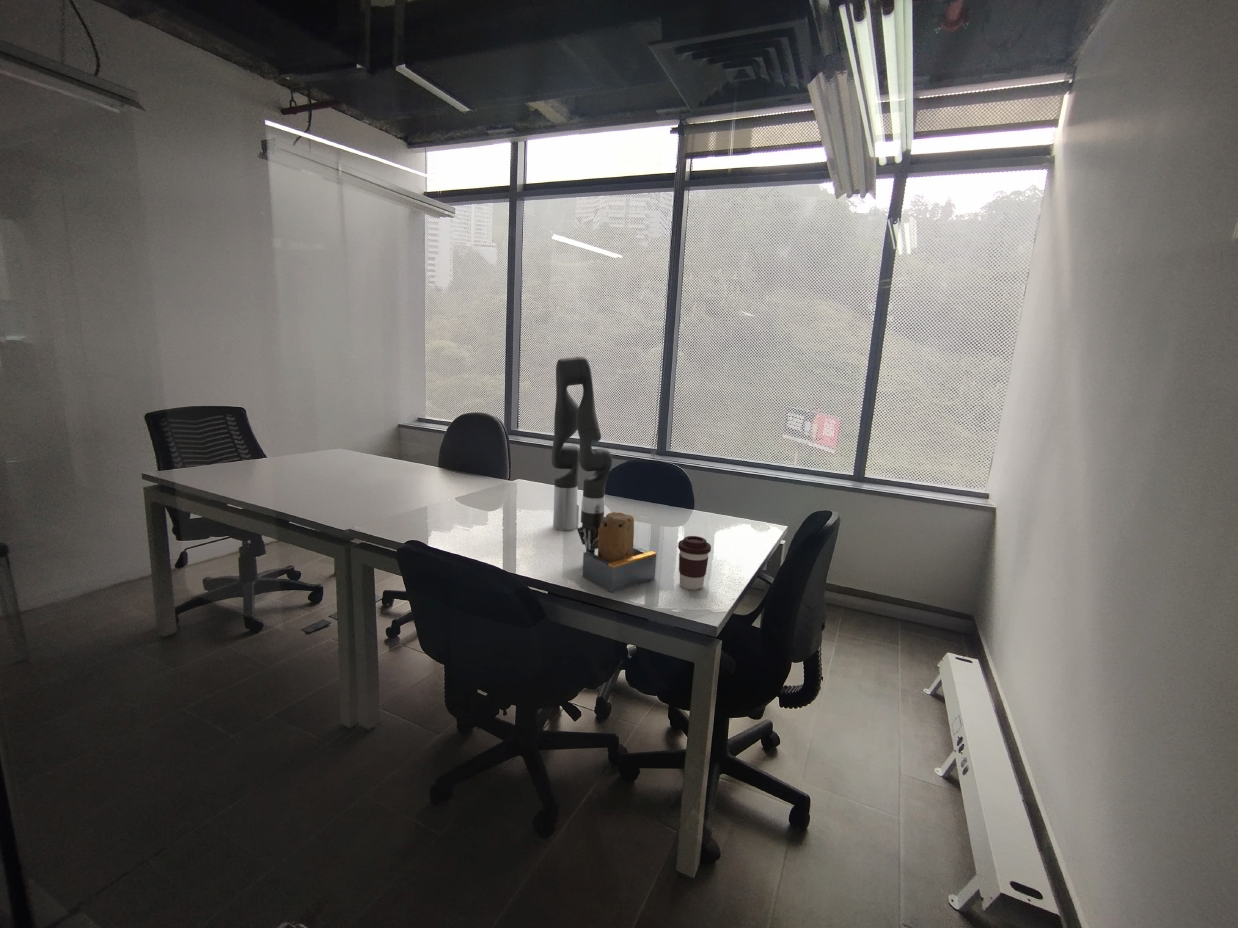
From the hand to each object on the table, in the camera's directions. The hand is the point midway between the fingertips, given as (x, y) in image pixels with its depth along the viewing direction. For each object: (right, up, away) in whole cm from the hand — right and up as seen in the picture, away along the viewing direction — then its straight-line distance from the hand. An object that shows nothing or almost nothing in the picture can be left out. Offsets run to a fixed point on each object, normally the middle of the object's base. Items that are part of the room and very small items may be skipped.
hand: (589, 558), depth 177 cm
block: (+8, -4, -8) cm, 12 cm away
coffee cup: (+32, -6, -13) cm, 35 cm away
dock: (+9, -4, -9) cm, 14 cm away
